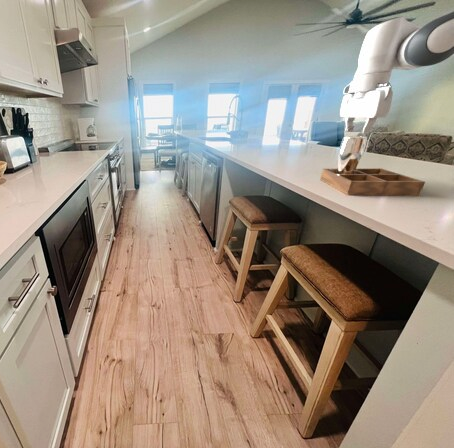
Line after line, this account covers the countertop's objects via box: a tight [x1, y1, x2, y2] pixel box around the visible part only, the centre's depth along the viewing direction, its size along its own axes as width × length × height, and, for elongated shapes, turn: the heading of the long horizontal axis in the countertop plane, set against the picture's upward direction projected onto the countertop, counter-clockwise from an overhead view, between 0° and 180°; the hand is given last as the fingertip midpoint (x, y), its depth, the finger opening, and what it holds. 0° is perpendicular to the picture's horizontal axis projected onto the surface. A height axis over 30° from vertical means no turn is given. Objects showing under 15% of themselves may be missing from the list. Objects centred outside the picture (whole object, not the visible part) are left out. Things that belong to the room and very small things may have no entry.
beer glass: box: [336, 135, 368, 174], centre depth 84 cm, size 7×7×15 cm
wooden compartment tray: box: [320, 167, 426, 197], centre depth 82 cm, size 19×19×4 cm
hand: (356, 132), depth 81 cm, fingers open, 8 cm apart
